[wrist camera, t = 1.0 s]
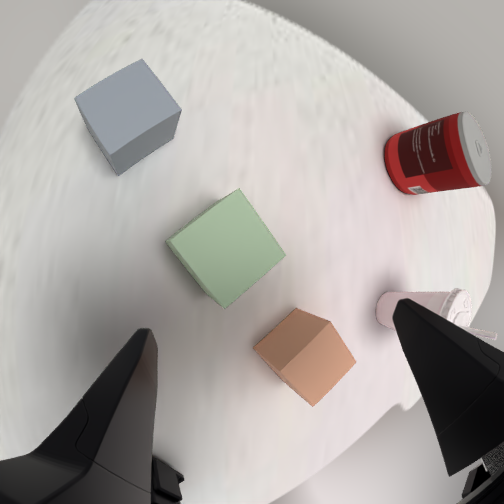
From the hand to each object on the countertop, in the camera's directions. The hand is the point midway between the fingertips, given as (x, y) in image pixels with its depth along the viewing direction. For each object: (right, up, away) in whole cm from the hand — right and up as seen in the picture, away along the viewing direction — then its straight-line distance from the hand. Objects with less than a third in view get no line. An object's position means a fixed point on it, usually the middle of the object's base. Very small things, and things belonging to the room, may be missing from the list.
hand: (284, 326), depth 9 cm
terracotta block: (+2, -6, +14) cm, 15 cm away
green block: (-4, +3, +11) cm, 13 cm away
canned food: (+17, +13, +19) cm, 29 cm away
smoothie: (+14, -4, +19) cm, 23 cm away
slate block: (-10, +12, +9) cm, 18 cm away
